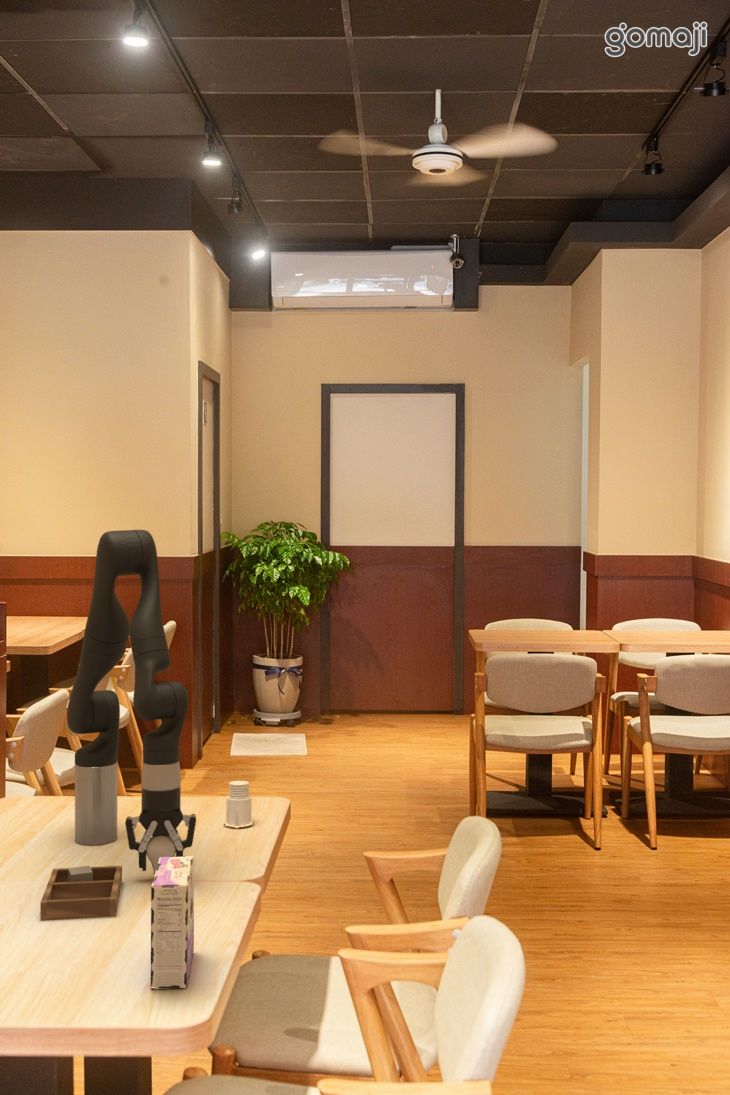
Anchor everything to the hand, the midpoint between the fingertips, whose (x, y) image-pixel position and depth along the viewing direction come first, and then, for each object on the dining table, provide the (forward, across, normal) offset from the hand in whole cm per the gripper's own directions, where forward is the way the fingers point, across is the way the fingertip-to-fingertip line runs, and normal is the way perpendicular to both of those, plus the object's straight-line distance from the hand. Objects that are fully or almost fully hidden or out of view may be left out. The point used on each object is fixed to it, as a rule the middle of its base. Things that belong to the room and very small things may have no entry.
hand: (160, 868), depth 209 cm
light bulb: (+3, 0, 0) cm, 3 cm away
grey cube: (+2, +15, +4) cm, 16 cm away
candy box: (+3, -3, +40) cm, 41 cm away
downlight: (+3, -17, -38) cm, 42 cm away
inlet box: (+3, +14, +9) cm, 17 cm away
